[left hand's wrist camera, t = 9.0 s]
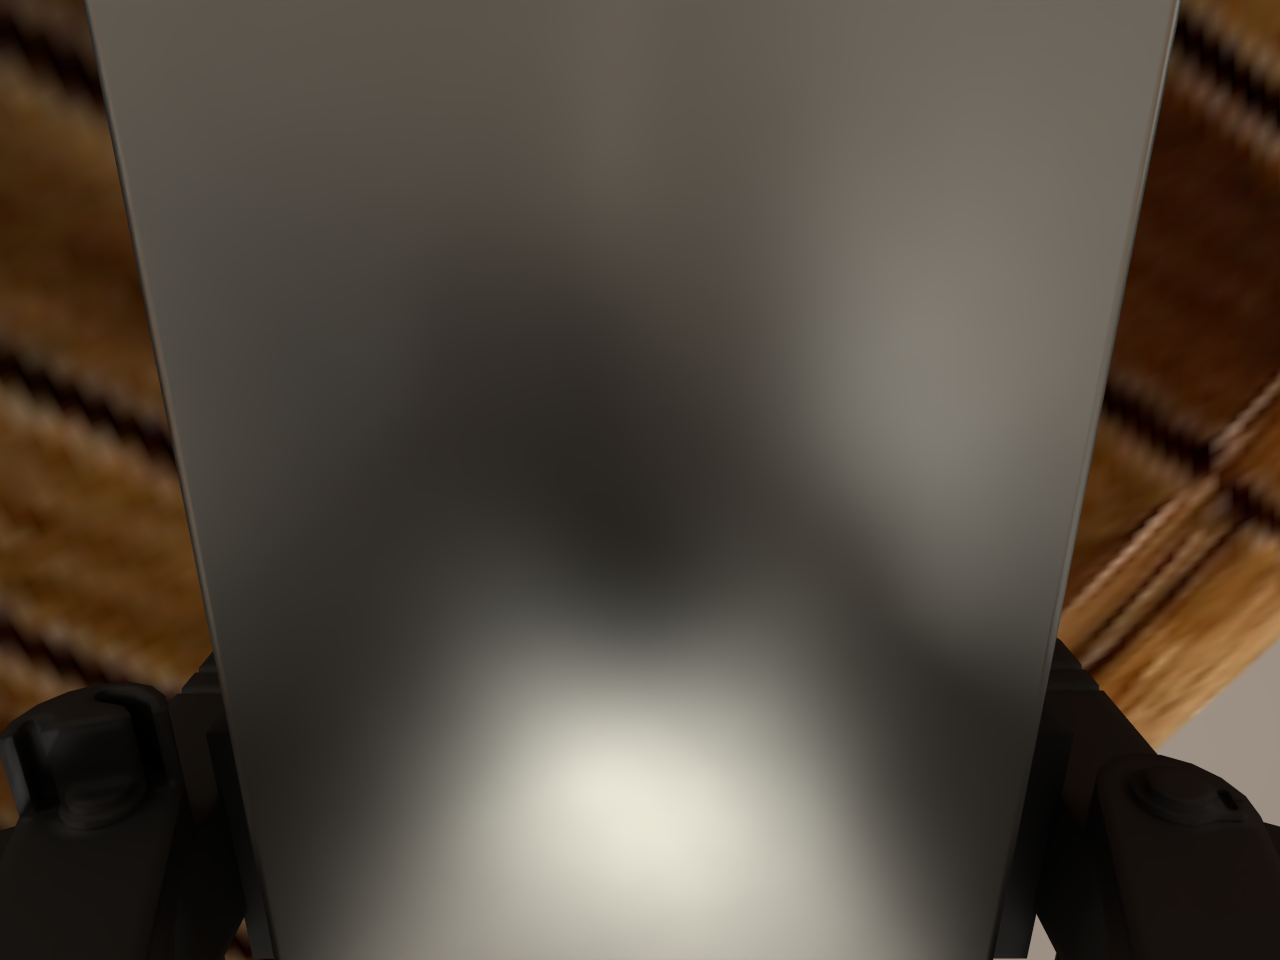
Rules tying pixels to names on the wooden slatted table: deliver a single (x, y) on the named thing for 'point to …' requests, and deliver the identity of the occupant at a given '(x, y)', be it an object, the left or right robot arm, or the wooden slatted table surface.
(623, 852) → the bar
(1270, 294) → the wooden slatted table surface
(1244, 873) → the left robot arm
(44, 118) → the wooden slatted table surface
